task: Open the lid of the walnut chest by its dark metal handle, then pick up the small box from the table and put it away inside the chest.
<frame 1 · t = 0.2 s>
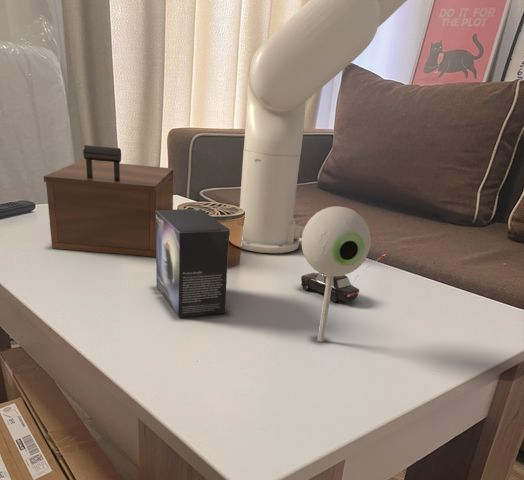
lollipop: (320, 341, 60), on the table
lid: (114, 159, 83), point 13 cm above the table, hinge at 0.0°
toy car: (337, 300, 72), on the table
chest: (117, 237, 89), on the table
small box: (188, 301, 67), on the table
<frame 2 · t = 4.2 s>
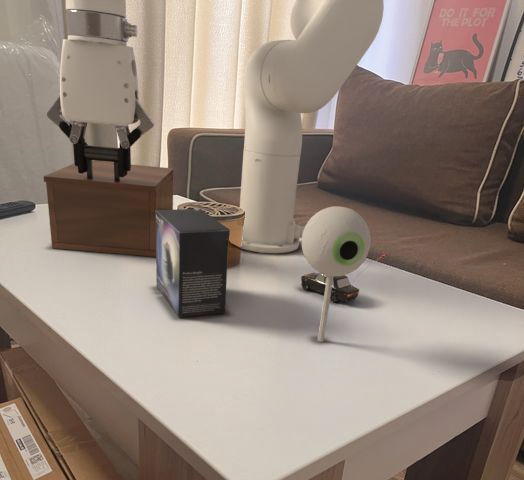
hand: (103, 172, 77), 12 cm above the table, tool pointing down, fingers closed on lid, 5 cm apart
lid: (114, 159, 83), point 13 cm above the table, hinge at 0.0°, touching gripper
everything else where it was.
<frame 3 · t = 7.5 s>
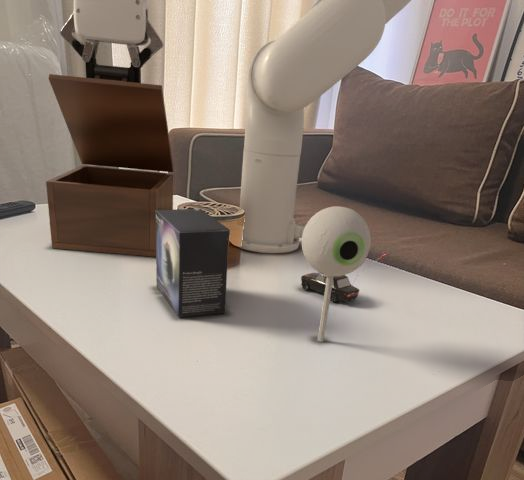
hand: (114, 93, 80), 22 cm above the table, tool pointing down, fingers closed on lid, 5 cm apart
lid: (119, 117, 85), point 19 cm above the table, hinge at 45.1°, touching gripper
everything else where it was.
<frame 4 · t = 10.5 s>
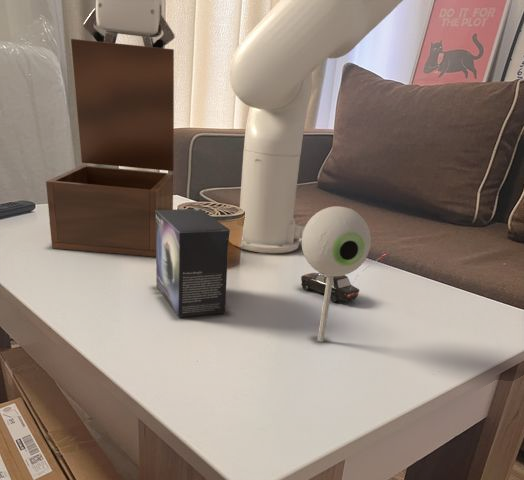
hand: (130, 79, 90), 24 cm above the table, tool pointing down, fingers closed on lid, 5 cm apart
lid: (128, 106, 90), point 20 cm above the table, hinge at 84.8°, touching gripper
everything else where it was.
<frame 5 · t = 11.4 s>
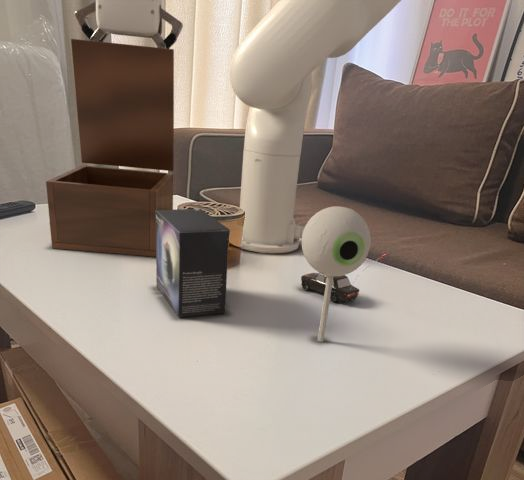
hand: (130, 75, 89), 25 cm above the table, tool pointing down, fingers open, 9 cm apart
lid: (128, 106, 90), point 20 cm above the table, hinge at 84.8°
everything else where it was.
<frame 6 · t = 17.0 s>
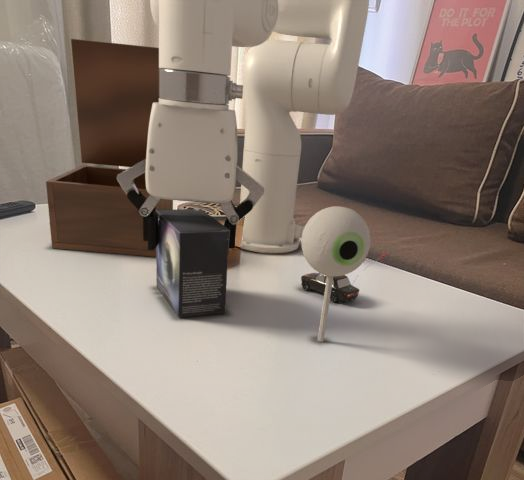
hand: (189, 250, 64), 7 cm above the table, tool pointing down, fingers closed on small box, 8 cm apart
small box: (188, 301, 67), on the table, touching gripper
everything else where it was.
when the fingers open (15 cm above the table, at t = 25.6 s): small box drops 7 cm, resting on chest.
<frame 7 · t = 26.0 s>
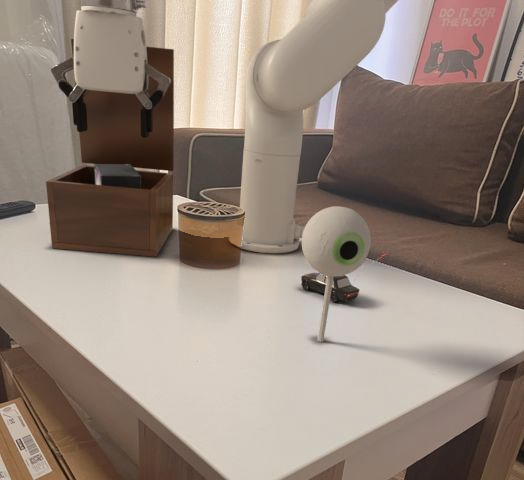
hand: (113, 134, 81), 17 cm above the table, tool pointing down, fingers open, 9 cm apart
small box: (119, 234, 88), point 1 cm above the table, touching chest
everything else where it was.
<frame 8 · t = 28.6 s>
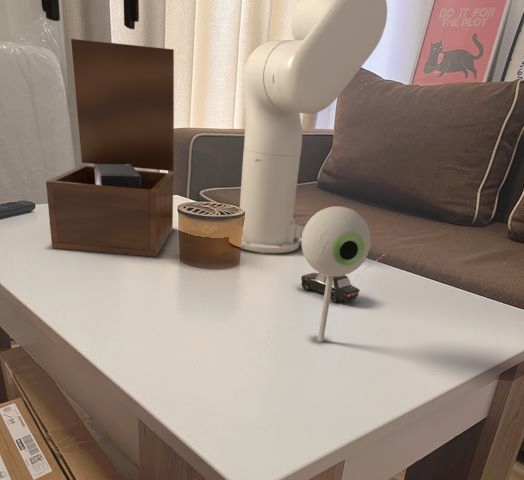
hand: (91, 24, 67), 30 cm above the table, tool pointing down, fingers open, 9 cm apart
nothing on the table moved.
at the end: lid at +85° (first picture: +0°); small box inside the target area in the chest (1.0 cm from its centre), point 0.8 cm above the chest's base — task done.
